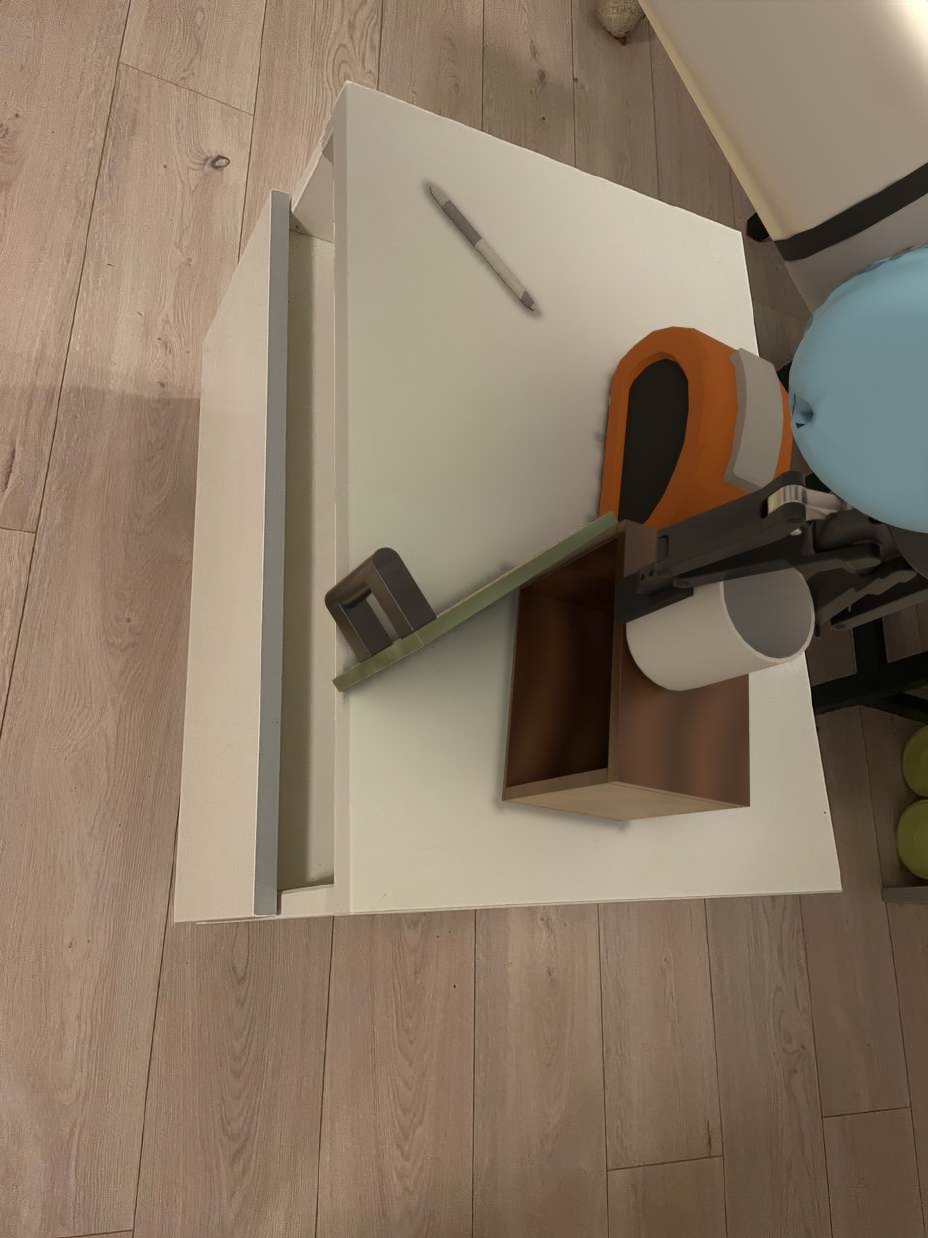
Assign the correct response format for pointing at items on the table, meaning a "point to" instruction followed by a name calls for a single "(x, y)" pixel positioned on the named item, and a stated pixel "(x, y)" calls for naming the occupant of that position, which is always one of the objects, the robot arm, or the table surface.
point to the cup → (725, 630)
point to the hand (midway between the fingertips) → (670, 616)
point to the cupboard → (612, 703)
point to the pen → (482, 247)
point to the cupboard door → (421, 602)
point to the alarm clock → (691, 428)
